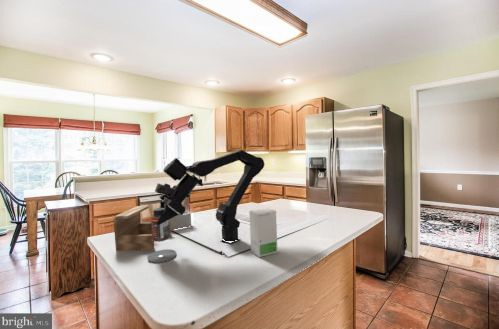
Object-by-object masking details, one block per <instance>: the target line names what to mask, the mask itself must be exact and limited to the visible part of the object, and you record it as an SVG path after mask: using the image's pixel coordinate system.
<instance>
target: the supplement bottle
mask: <svg viewBox="0 0 499 329" xmlns="http://www.w3.org/2000/svg"><path fill="white" fill-rule="evenodd" d="M164 210H165V208H159V207H156V208H154V209H153V210H152V211H153V214H152V215H151V216H150V217H151V218H150V223H151V224H152V238H153V241H154V242H156V243H157V242H165V241H167V240H169V239H170V236H171V235H169V221H168V220H167V221H165V222H164V223H162V224H160V225H158V224H157V221H158V220H159V218H160V216H161V215H162V213H163V212H164Z"/></svg>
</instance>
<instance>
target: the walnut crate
mask: <svg viewBox="0 0 499 329" xmlns="http://www.w3.org/2000/svg"><path fill="white" fill-rule="evenodd" d="M147 209H150V206H149V205H136V206H135V207H132V208H130V209H128V210H125V211H124V212H121V213H119V214H117V215H115V216H113V217H114V218H113V231H114V232H113V233H114V244H115V251H116V252H122V251H129V252H130V251H131V252H132V251H154V250H155V241H153V238H152V224H151V222H141V217H140V213H141V212H144V211H146V210H147ZM171 232H172V231H171V230H170V222H169V236H171V234H172V233H171Z"/></svg>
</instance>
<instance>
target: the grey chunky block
mask: <svg viewBox="0 0 499 329" xmlns="http://www.w3.org/2000/svg"><path fill="white" fill-rule="evenodd" d="M178 214H179V215H177V216H175V217H173V218H171V219H169V220H168V221H169V222H170V230H171V232H174V231H173V230H174V229H178V228H183V227H189V226H191V227H192V217H191V216H192V215H191V212H190V211H189V210H186V209H185V212H184V213H183V215H181V214H180V213H178Z"/></svg>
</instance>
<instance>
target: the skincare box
mask: <svg viewBox="0 0 499 329" xmlns="http://www.w3.org/2000/svg"><path fill="white" fill-rule="evenodd" d="M248 212H249V231H250V232H249V234H250V252H251V253H252V254H254V255H255V256H256V257H258V258H262V257H265V256H269V255H273V254H277V253H278V231H277V230H278V227H277V226H278V225H277V224H278V223H277V210H274V209H271V208H268V207H266V208H257V209H253V210H252V209H251V210H249V211H248Z"/></svg>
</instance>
